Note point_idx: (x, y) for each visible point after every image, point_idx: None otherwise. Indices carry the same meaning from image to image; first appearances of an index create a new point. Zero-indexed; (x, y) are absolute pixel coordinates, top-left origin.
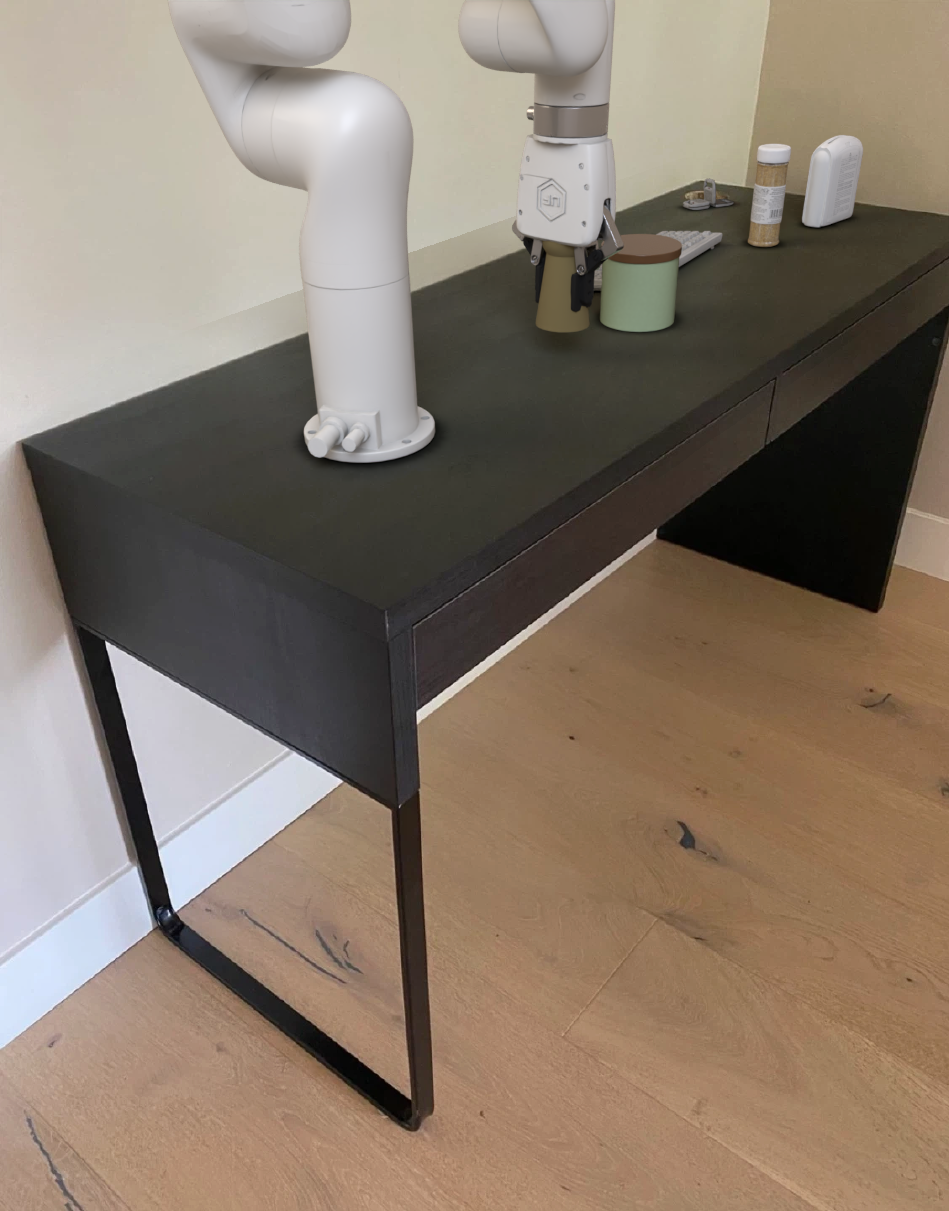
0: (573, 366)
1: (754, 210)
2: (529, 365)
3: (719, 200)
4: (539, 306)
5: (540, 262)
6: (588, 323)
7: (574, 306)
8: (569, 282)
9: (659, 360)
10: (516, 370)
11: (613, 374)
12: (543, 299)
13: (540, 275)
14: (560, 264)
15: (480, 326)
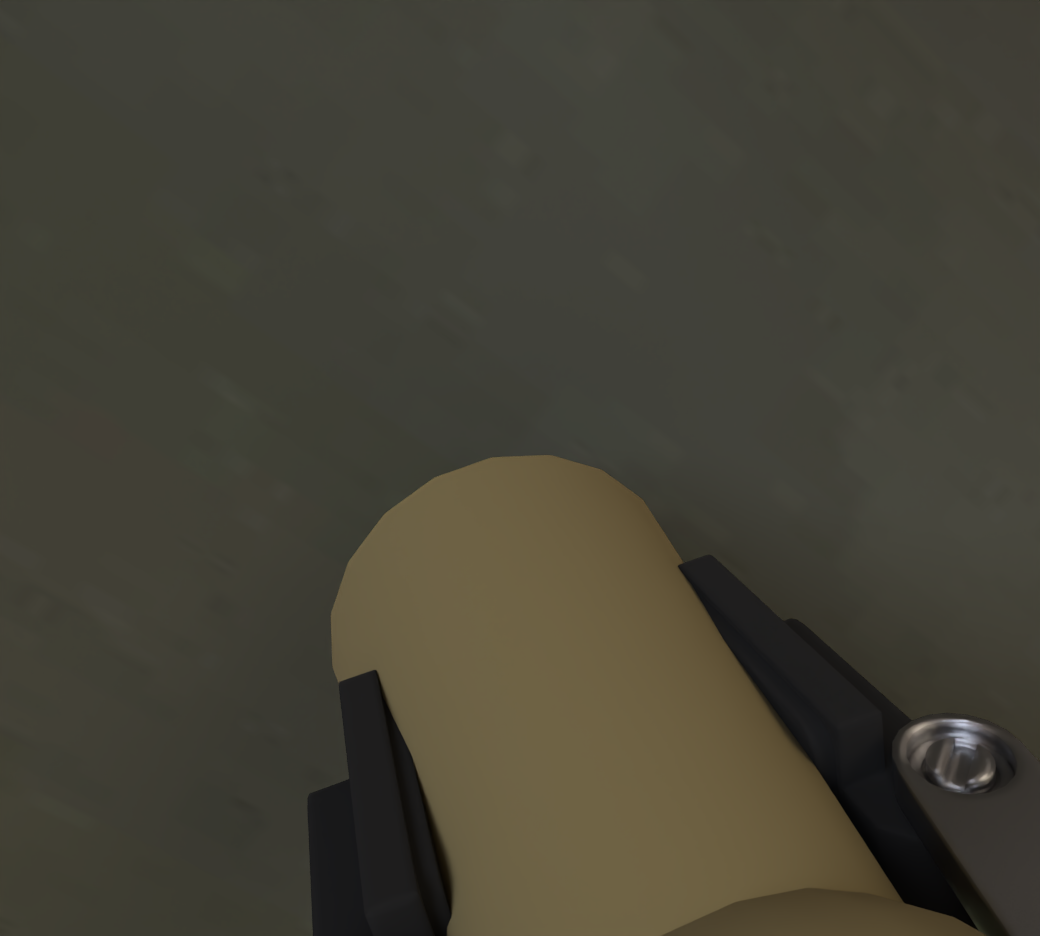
0: (297, 502)
1: None
2: (462, 313)
3: None
4: (623, 530)
5: (891, 780)
6: None
7: (341, 698)
8: (438, 811)
9: (103, 894)
10: (445, 202)
11: (56, 613)
12: (599, 563)
13: (785, 687)
14: (574, 884)
15: (1029, 434)
